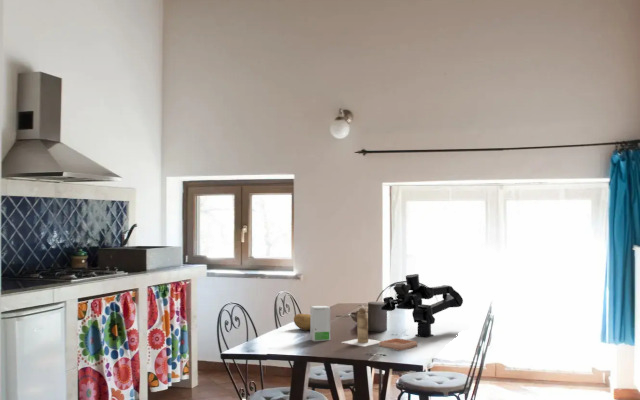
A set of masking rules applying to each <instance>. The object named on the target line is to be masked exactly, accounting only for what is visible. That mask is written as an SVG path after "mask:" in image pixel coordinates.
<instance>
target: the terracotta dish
mask: <svg viewBox="0 0 640 400" xmlns="http://www.w3.org/2000/svg"><path fill="white" fill-rule="evenodd" d="M380 341H381V342H380V343H379V347H382V348H389V349H393V350H395V351H404V350H405V351H406V350H407V349H412V348H416V347H418V341H417V340H410V339H404V338H397V337H395V338H390V339H385V340H380Z"/></svg>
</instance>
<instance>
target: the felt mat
mask: <svg viewBox="0 0 640 400" xmlns="http://www.w3.org/2000/svg"><path fill="white" fill-rule="evenodd" d="M381 341H382V340H375V339H370V338H368V343H358V340H357V338H354V339H351V340H345V341H341V344H343V343H344V344H348V345H352V346H353V345H354V346H357V347H358V346H359V347H364V348H365V347H368V346H373V345H377V344H380V342H381Z"/></svg>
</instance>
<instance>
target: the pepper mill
mask: <svg viewBox="0 0 640 400" xmlns="http://www.w3.org/2000/svg"><path fill="white" fill-rule="evenodd" d="M356 317H357V318H356V322H357V323H356V324H357V325H356V327H357V328H356V329H357V338H356V339H357V340H358V343H368V339H369V330H368V312H367V310H366V308H365V307H360V308H359V309H358V312H357V313H356Z"/></svg>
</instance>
